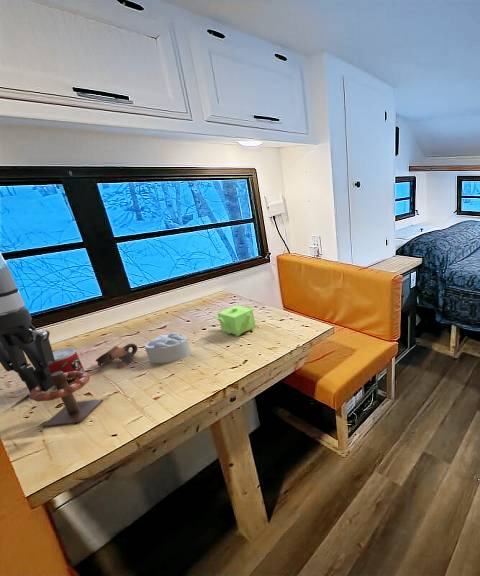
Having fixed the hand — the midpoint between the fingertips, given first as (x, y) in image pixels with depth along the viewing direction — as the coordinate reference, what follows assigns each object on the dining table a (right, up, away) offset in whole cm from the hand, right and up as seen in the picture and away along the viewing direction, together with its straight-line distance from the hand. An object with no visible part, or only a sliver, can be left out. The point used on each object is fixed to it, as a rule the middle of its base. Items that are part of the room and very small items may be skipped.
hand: (42, 388), depth 83 cm
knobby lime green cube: (+30, +8, +50) cm, 59 cm away
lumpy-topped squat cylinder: (+14, +1, +32) cm, 35 cm away
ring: (+5, +1, 0) cm, 5 cm away
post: (+5, -9, +4) cm, 11 cm away
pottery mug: (-3, 0, +29) cm, 29 cm away
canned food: (-12, -4, +19) cm, 23 cm away
